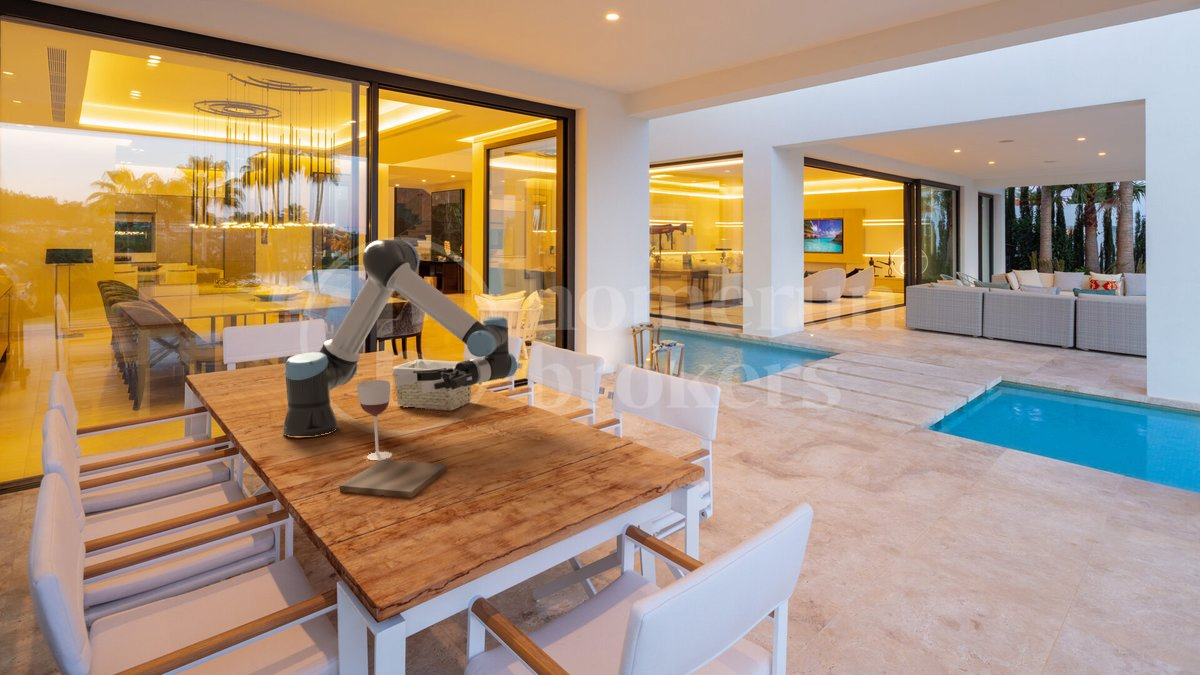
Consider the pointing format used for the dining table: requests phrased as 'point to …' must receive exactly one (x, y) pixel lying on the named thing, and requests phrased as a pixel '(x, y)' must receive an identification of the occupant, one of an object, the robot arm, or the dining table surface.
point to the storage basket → (430, 400)
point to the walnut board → (394, 478)
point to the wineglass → (375, 407)
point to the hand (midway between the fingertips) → (408, 384)
